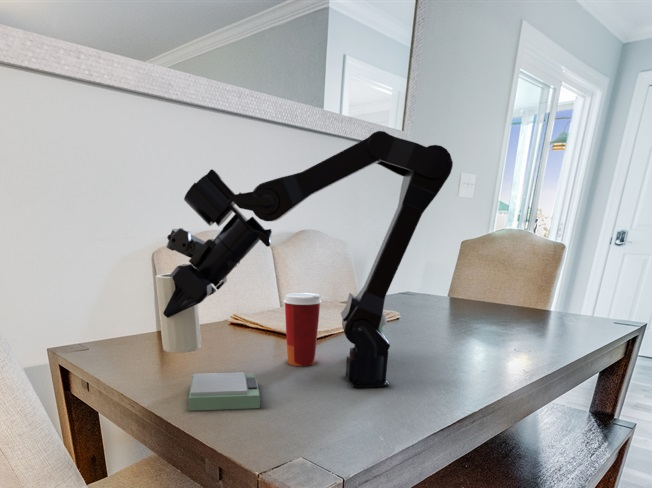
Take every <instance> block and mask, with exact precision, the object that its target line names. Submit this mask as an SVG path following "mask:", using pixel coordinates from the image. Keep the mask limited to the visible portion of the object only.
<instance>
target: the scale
mask: <svg viewBox="0 0 652 488" xmlns="http://www.w3.org/2000/svg"><path fill="white" fill-rule="evenodd" d="M187 400H188V410H189V412H193V411H194V412H196V411H217V410H218V411H220V410H222V411H223V410H245V409H248V410H249V409H260V408H261V396H260V390H259V386H258V382H257V377H256V373H245V372H244V371H241V372H240V371H238V372H235V371H234V372H208V373H207V372H205V373H201V372H200V373H193V375H192V376H191V381H190V388H189V393H188V399H187Z"/></svg>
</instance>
